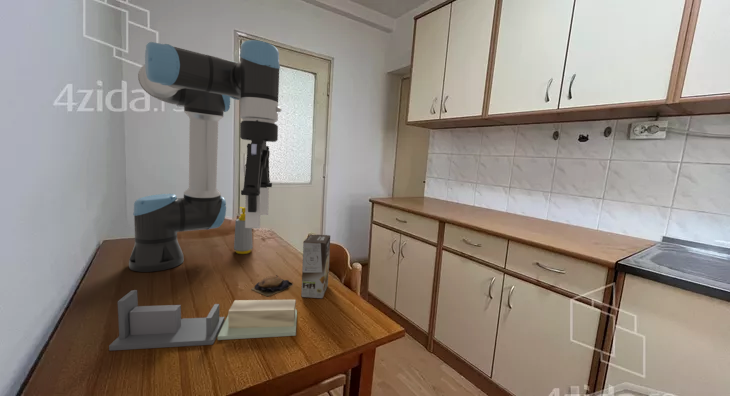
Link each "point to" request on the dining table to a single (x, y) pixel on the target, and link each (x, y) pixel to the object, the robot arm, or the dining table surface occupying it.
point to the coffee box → (315, 266)
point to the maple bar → (261, 313)
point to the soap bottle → (242, 235)
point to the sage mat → (256, 331)
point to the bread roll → (271, 285)
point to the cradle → (162, 326)
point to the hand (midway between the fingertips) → (258, 220)
